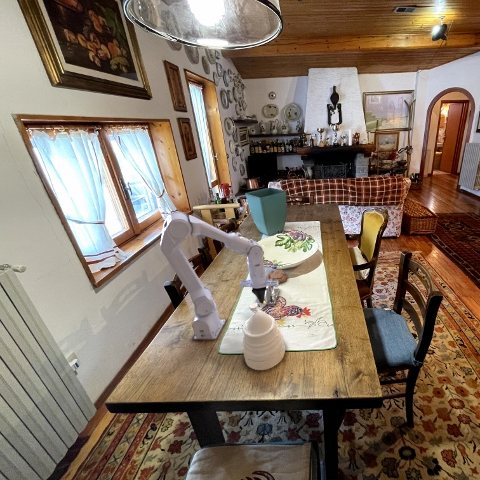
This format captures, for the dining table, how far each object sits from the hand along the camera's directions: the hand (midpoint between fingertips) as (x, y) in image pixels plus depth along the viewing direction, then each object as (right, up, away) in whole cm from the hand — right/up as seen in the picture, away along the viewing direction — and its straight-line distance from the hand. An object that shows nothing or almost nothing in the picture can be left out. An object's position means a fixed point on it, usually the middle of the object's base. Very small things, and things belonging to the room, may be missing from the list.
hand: (262, 301), depth 100 cm
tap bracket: (+1, 0, +8) cm, 8 cm away
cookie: (+2, +6, +22) cm, 23 cm away
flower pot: (-12, +30, +79) cm, 85 cm away
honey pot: (+5, -12, -18) cm, 23 cm away
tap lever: (0, +1, +4) cm, 4 cm away
